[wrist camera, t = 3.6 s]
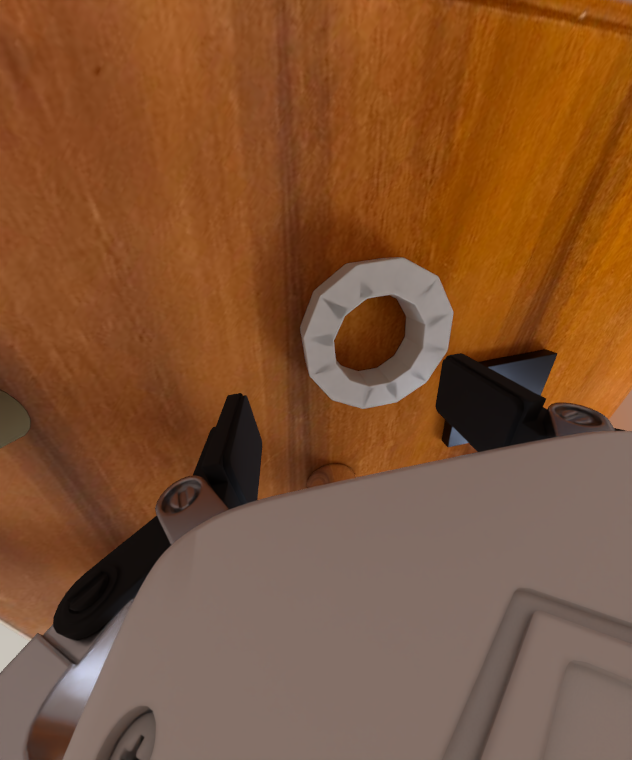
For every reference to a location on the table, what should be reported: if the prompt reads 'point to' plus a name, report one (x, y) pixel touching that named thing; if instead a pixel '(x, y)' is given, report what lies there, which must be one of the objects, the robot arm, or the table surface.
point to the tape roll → (414, 355)
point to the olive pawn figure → (12, 419)
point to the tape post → (519, 369)
